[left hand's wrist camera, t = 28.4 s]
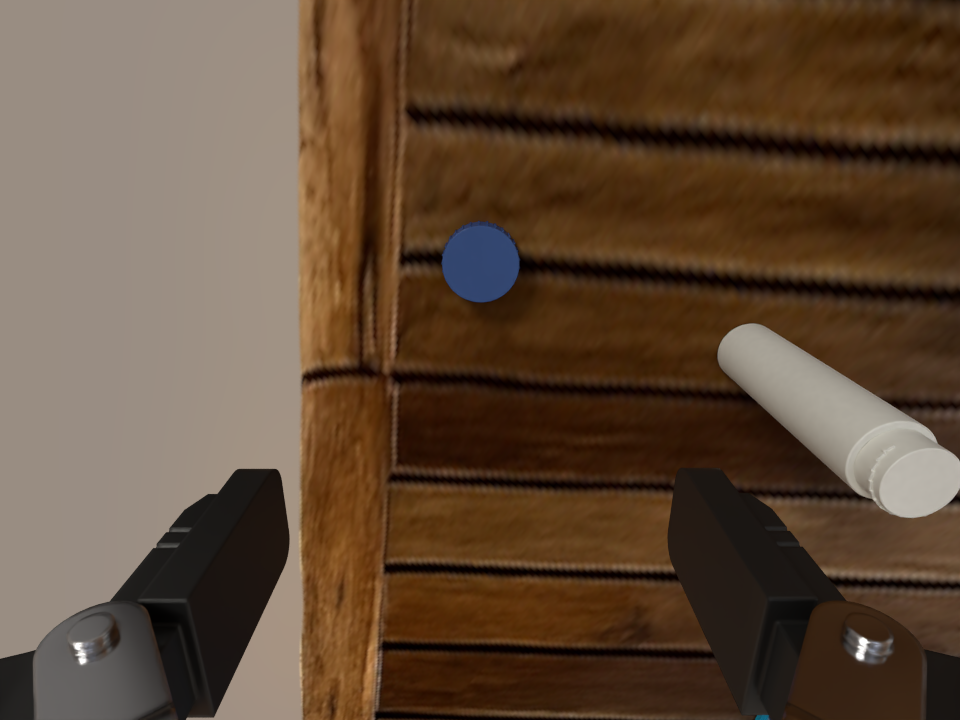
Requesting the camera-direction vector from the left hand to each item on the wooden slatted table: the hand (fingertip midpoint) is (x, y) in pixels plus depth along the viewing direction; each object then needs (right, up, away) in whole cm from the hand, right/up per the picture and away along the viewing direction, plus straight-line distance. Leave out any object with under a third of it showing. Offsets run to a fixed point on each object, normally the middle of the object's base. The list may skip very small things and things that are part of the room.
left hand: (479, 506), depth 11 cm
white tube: (+19, +4, +28) cm, 34 cm away
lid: (0, +9, +24) cm, 26 cm away
